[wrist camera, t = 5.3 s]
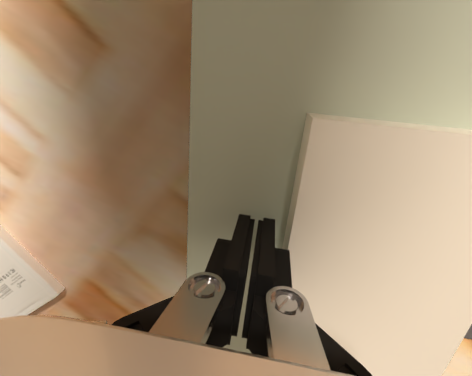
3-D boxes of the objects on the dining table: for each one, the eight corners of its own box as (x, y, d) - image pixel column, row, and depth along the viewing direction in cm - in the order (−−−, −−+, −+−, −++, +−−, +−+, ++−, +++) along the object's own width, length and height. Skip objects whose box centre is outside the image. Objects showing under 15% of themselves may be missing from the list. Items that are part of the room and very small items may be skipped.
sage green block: (216, -12, 13) (193, -49, 9) (525, 6, 12) (638, -30, 8) (200, 315, 21) (184, 364, 18) (380, 350, 20) (404, 410, 16)
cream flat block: (307, 112, 11) (312, 118, 9) (519, 134, 10) (574, 145, 8) (268, 324, 15) (267, 357, 13) (413, 352, 14) (433, 391, 13)
